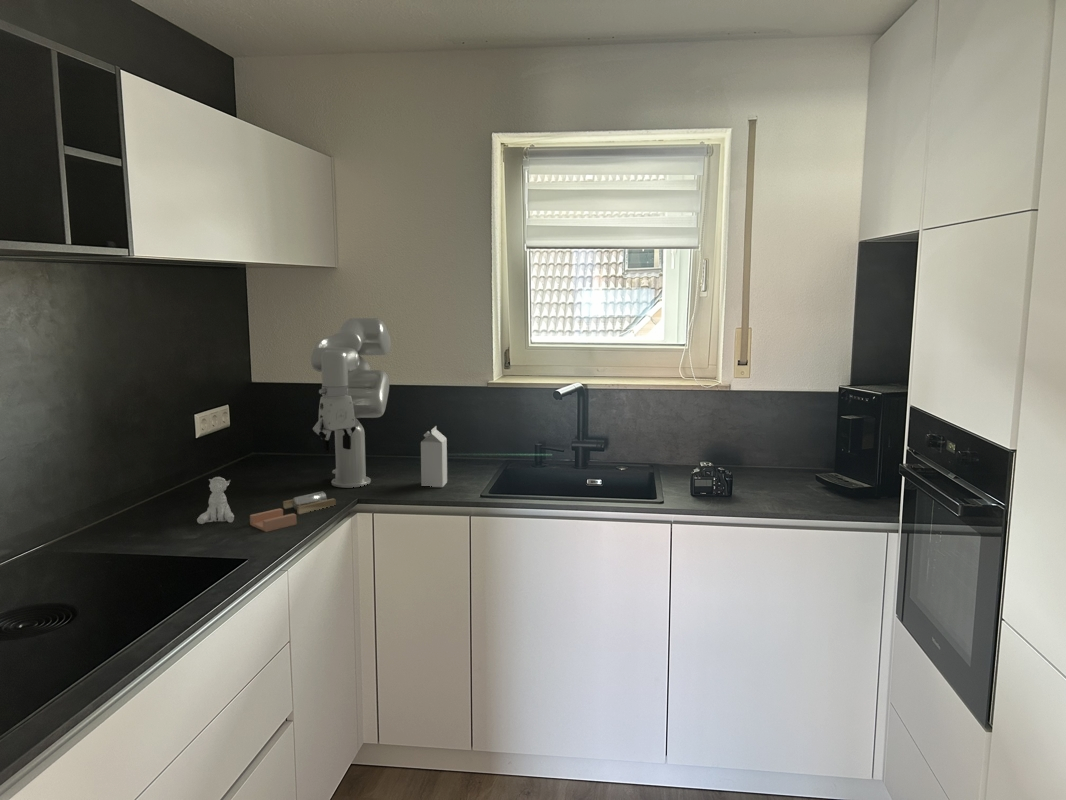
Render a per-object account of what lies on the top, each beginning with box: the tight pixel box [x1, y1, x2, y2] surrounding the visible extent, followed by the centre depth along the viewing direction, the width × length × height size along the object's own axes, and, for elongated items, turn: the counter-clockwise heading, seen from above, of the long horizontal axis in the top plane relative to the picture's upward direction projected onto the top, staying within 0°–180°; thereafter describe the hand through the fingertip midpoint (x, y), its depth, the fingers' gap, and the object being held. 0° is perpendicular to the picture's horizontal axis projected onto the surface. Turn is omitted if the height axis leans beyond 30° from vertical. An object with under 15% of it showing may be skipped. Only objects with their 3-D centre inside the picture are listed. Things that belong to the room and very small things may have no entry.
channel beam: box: [282, 498, 337, 515], centre depth 227 cm, size 9×12×2 cm
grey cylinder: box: [292, 490, 328, 511], centre depth 227 cm, size 9×4×4 cm, turn 137°
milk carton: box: [420, 425, 448, 488], centre depth 252 cm, size 7×7×19 cm
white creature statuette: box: [196, 476, 235, 525], centre depth 214 cm, size 10×9×12 cm
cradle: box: [249, 507, 298, 533], centre depth 210 cm, size 9×9×3 cm
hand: (337, 450), depth 232 cm, fingers open, 6 cm apart
